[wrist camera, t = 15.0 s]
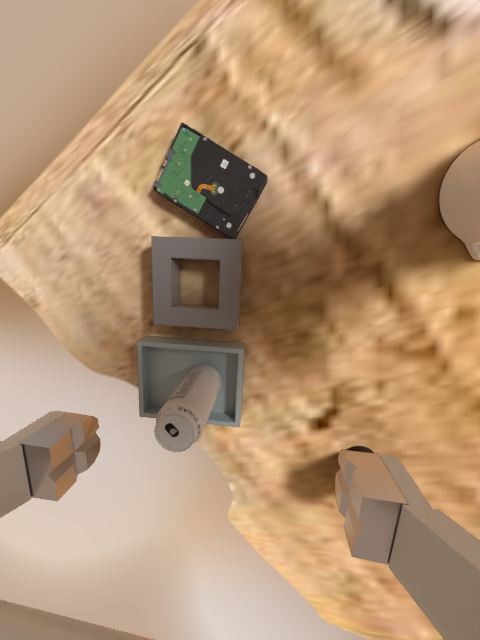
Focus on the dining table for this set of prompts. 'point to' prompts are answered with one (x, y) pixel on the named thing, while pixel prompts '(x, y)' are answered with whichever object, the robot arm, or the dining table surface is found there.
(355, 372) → the dining table surface
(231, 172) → the disk drive
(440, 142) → the dining table surface
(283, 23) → the dining table surface
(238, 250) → the socket block
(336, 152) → the dining table surface
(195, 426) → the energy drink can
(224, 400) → the parts tray
